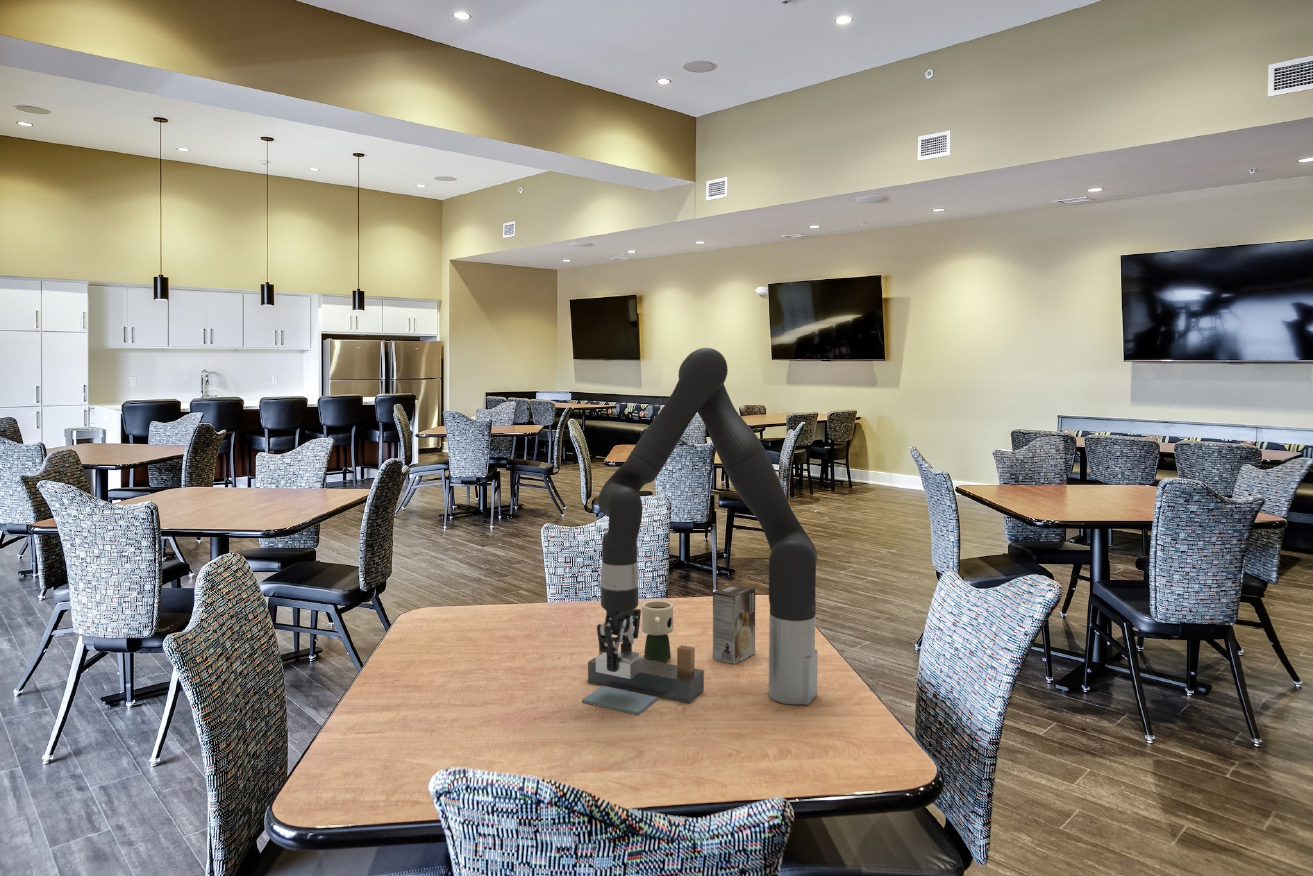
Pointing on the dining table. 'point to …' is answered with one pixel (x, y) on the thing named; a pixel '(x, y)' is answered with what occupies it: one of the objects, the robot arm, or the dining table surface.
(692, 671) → the dark grey post stand
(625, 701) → the mat
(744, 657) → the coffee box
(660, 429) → the robot arm
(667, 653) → the character mug
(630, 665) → the lever cap
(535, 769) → the dining table surface
